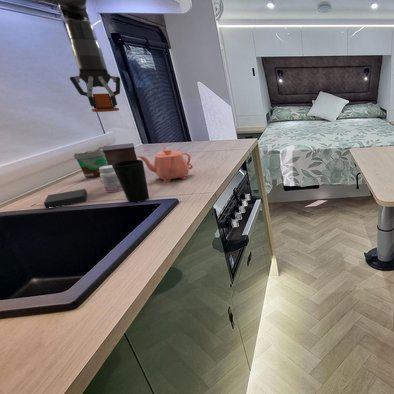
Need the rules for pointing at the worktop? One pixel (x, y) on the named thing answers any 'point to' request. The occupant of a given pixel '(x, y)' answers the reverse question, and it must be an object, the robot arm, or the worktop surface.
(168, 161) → the teapot
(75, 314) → the worktop surface
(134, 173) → the cup
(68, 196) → the stand
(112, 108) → the hat
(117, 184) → the pill bottle
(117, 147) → the brown tapered pot
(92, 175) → the food container
